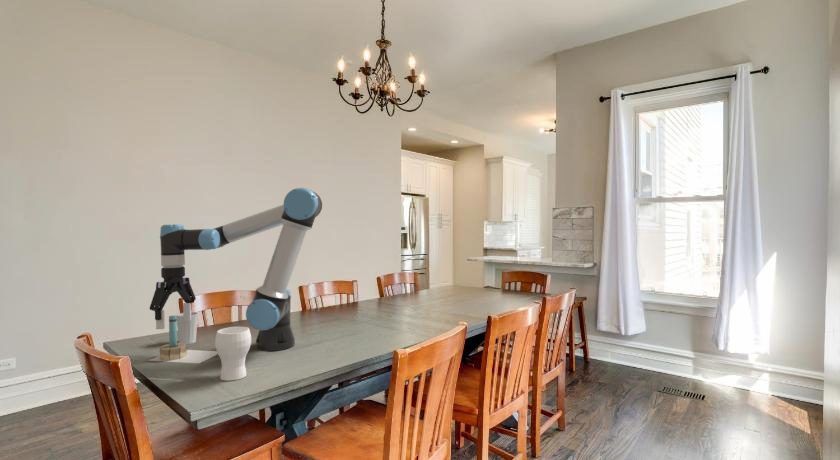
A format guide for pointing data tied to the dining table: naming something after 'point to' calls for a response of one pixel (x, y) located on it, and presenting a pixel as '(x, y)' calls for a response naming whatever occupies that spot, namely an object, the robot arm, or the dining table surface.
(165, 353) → the bead
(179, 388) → the dining table surface
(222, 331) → the cup
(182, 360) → the mat
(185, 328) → the cup
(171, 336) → the teal marker pen
